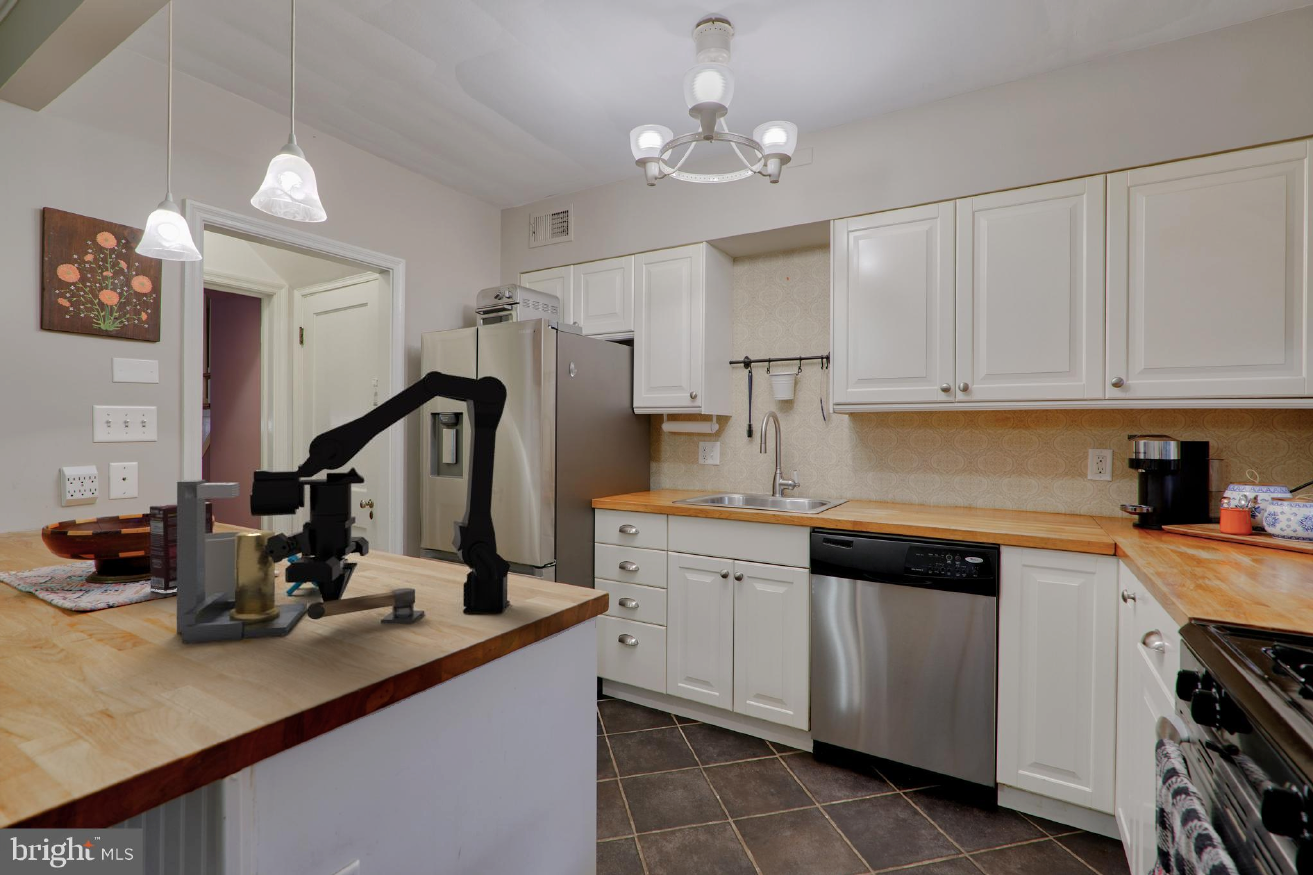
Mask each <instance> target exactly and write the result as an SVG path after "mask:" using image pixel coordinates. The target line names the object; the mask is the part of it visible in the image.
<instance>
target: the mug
mask: <svg viewBox="0 0 1313 875" xmlns="http://www.w3.org/2000/svg"><path fill="white" fill-rule="evenodd" d="M238 533H243V532H242V531H241V532H240V531H224V532H222V531H221V532H219V531H218V532H213V533H209V534H205V599H206V598H208V597H209V596H211V595H212V594H214V593H215V592H217V591H228V600H229V599H235V535H236V534H238Z"/></svg>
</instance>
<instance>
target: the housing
mask: <svg viewBox="0 0 1313 875" xmlns="http://www.w3.org/2000/svg"><path fill="white" fill-rule="evenodd" d="M275 535H276V532H275V531H273V530H272V531H271V530H253V531H244V532H243V533H238V534H236V535H235V609H233V610H231V611H230V612H229V621H245V624H249V623H257V622H263V621H267V620H271V619H274V618H276V617H278V616H279V615H280V606H279V605H280V604H276V597H275V596H276V594H275V592H276V590H275V589H276V586H275V585H276V582H275V580H276V572H275V571H276V563H275V564H274V563H273V560H272V558H271V557H269V556H266V555H265V554H264V552H265V551H266V548H265V545H266V544H267V539H268V538H269V537H271V536H275Z"/></svg>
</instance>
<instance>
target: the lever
mask: <svg viewBox="0 0 1313 875" xmlns="http://www.w3.org/2000/svg"><path fill="white" fill-rule="evenodd" d="M415 603H416V589H414V588H412V587H411V588H410V587H404V588H403V587H402V588H396V589H393V590H391V591H389V592H381V593H376V594H375V593H374V594H369V595H362V596H354V597H348V598H341V599H340V600H333V601H326V602H323V601H313V602H311V603H310V604H309V605H307V611H306V614H307V616H308V618H310V619H311V620H320V619H322V618H327V617H332V616H340V615H345V614H350V613H357V612H364V611H369V610H376V609H382V608H388V607H392V606H398V607H401V606H409V605H412V604H414V605H415Z"/></svg>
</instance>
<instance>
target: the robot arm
mask: <svg viewBox="0 0 1313 875" xmlns="http://www.w3.org/2000/svg"><path fill="white" fill-rule="evenodd" d="M435 397H438V398H440V397H441V398H444V399H448V400H453V401H458V402H464V403H466V412H467V416H468V423H469V426H470V441H469V442H470V443H469V454H468V455H469V456H468V469H467V470H468V471H467V472H468V473H467V486H466V487H467V489H466V503H465V512H464V514H463V517H462V520H461V521H457V520H454V521H453V531H454V535H453V539H452V542H451V545H452V546H453V547H454V548H455V552H456V555H457V556H458V557H459V558H460V559H461V560H462V562H463V563H464V564H465V565H466V566H467V567H468V568H469V570H470V572H468V573H467V574H466V581H465V582H464V583H463V589H462V592H463V595H462V596H463V599H462V600H463V603H462V604H463V606H462V607H463V608H464V609H463V610H462V613H464V614H488V615H489V614H491V615H493V614H496V615H499V614H502V613H503V612H504V611H505V610H506V609H507V607H508V606H509V605H510V604H511V600H509V599H508V576H509V570H510V568H511V565H510V563H509V562H507V561H506V560H505V559H504V558H503V557H502V556H501V555H500V554H498V550H497V549H498V547H497V540H496V532H495V527H494V523H493V518H492V501H493V500H492V498H493V487H494V486H493V484H494V468H495V453H496V451H495V450H496V439H497V438H496V437H497V430H498V427H499V424H500V423H501V420H502V416H503V413H504V409H505V405H506V402H507V397H508V392H507V387H506V385H505V384H504V383H503V381H501V379H499V378H498V377H495V376H492V375H490V376H488V375H486V376H482V377H479V378H473V377H467V376H459V375H453V374H447V373H443V372H441V371H438V370H431V371H429V372H427V373H425V374H424V375H422V376H421V378H420V379H419V380H417V381H415V382H414V383H413V384H411V385H409V386H408V387H406V388H404V389H403V390H402V391H400V392H399V393H397V394H395V395H393V396H392V397H390V398H389V399H387V400H386V401H384V402H382V403H381V404H379V405H378V406H376V407H375V408H372V410H369V411H368V412H366V413H365V414H364V415H362V416H360V417H358V418H355V419H353V420H351V421H348V422H346V423H344V424H342V425H338V426H337V427H334V428H331V429H329V430H327V431H325V432H321V433H320V434H318V435H317V436H316V437H314V438H313V439H312V441H311V442H310V445H309V447H308V455H309V456H308V457H307V458H306V460H304V462H303V463H300V464H298V466H297V470H275V471H274V470H268V469H257V470H254V471H253V478H252V479H253V480H252V487H251V493H250V495H249V505H250V515H251V517H252V518H253V517H271V516H273V517H274V516H291V515H292V516H293V515H297V512H298V510H300V508H302V509H303V508H306V507H305V506H306V486H309V520H307V521H305V522H304V523H303V524H302V530H299V531H296V532H294V533H291V534H287V535H286V534H285V533H284V532H280V533H278V534H275V536H271V537H269V538H268V539H267V544H266V545H265V548H266V551H265V552H264V554H265V555H266V556H269V557H271V558H272V560H273V563H274V564H275V565H276V564H277V563H280V562H282V561H283V560H285V559H288V557H291V556H294V555H297V556H298V555H299V554H301V557H299V559H297V560H296V561H294V562H292V563H289V565H287V567H286V568H285V569H284V571H285V572H284V574H285V577H284V578H285V580H284V582H285V583H286V584H287V583H288V584H289V583H290V584H291V583H292V584H295V583H303V584H305V583H304V582H307V583H311V582H315V583H316V584H317V586H318V587H317V589H318V591H319V593H320V597H321V600H322V602H326V601H333V600H340V599H343V598H342V597H343V595H344V593H345V591H346V588H347V587H348V584H349V583H350V580H351V578H352V576H353V574H354V572H355V569H356V568H357V566H358V562H349V559H348V558H346V557H347V556H348V555H350V554H359V556H360V557H365V556H366V555H368V554H369V550H370V549H369V547H370V546H369V541H368V540H367V539H366V537H364V536H352V526H353V525H355V524H356V516H352V484H353V485H354V484H355V485H356V484H364V483H365V481H366V480H365V476H362V474H360V473H359V472H358V471H357V469H356V468H355V467H351V468H350V469H349V470H348V471H347V472H327V473H326V478H316V479H312V477H314V476H316V475H317V474H319V473H320V472H322V471H324V470H327V471H333V470H338V469H341V468H342V467H344V466H345V465H347V464H348V463H349V462H350V461H351V459H353V458H354V457H355V456H356V455H357V454H358V453H359V452H360V451H361V450H363V449H364V447H366V446H367V445H368V444H369V443H370V441H372V440H373V439H374V438H375V437H376V436H377V435H379V434H380V433H382V432H383V431H385V430H386V429H389V428H390V427H391V426H393V425H394V424H395V423H398V422H399V421H401V420H402V419H403V418H405V417H406V416H408V415H409V414H411V413H412V412H414V411H416V410H417V409H419V408H420V407H423V405H425V404H427V403H428V402H430V401H431V400H432V399H434V398H435ZM303 478H304V479H303ZM305 478H310V479H305Z"/></svg>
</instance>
